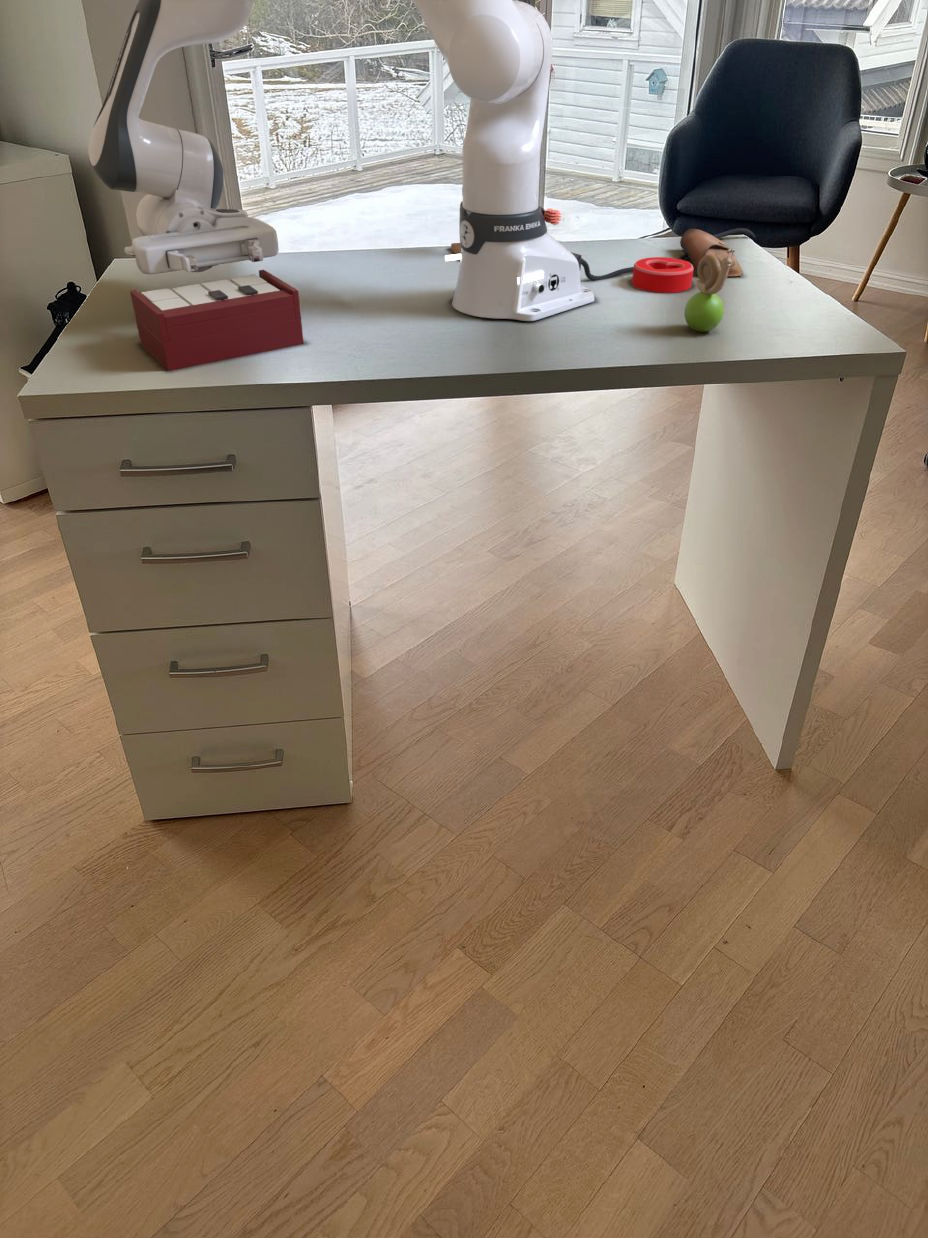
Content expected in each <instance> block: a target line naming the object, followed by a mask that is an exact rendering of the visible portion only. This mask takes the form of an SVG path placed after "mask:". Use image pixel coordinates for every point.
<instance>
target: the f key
mask: <svg viewBox="0 0 928 1238" xmlns="http://www.w3.org/2000/svg"><path fill="white" fill-rule="evenodd" d="M140 294H141V295H142V296H144V297H145V298H146V299H147V300H148V301H149V302H151V303H152V302H156V301H162V300H168V299H174V298H179V296H178V295H177V294H175V293H174V292H173V291H172V289H170V288H169V287H165V288H159V289H154V290H148V291H142V292H140Z"/></svg>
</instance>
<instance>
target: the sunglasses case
mask: <svg viewBox="0 0 928 1238" xmlns="http://www.w3.org/2000/svg"><path fill="white" fill-rule="evenodd" d="M679 244H680V247H681V249H682V250H683V251H684V252H685V253H687V255H688V256H689V257H688V258H689V259H690V262H691V264H692V265H693V268H694V269H695V270H696V271H697V268H698V264H699V261H700V260H701V258H702V257H703V256H705V255H713V256H715V257H716V258H717V259H718V261H719V263H720V266H721V267H722V260H723V258H725V257H729V258H731V257H732V259H731V260H732V264H731V266H730V268H729V272H728V275H727V278H732V277H733V278H734V277H741V276H744V272H743V269H742V267H741V265H740V263H739V262H738V260H737V259H736V257H735V255H734V253H733V254H732V253H731V252H730V253H729V256H728V253H727V250H728V249H730V247H729V246H728V244H726V243H725V242H724V241H722V240H721V239H720V238H719V239H717V238H715V237H714V236H712V234H710V233H708V232H707V231H704V230H701V229H697V228H689V229H687V230H686V231H684V233H683V234H682V235H681V238H680V241H679ZM730 250H731V249H730Z"/></svg>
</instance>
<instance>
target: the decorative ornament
mask: <svg viewBox="0 0 928 1238" xmlns="http://www.w3.org/2000/svg"><path fill="white" fill-rule="evenodd" d="M633 267H634V268H633V272H632V280H631V285H632V286H633V287H634V288H637V289H639V290H642V291H645V292H649V293H650V292H651V293H661V294H662V293H664V294H670V293H671V294H672V293H681V292H685V291H688V290H690V289H691V287H692V284H693V276H694V270H695V267H694V265H693V263H692V262H689V261H687V260H685V259H684V260H680V259H675V258H674V257H665V256H655V257H654V256H653V257H645V258H641V259H638V260H636V261H635V263H634V264H633Z"/></svg>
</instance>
